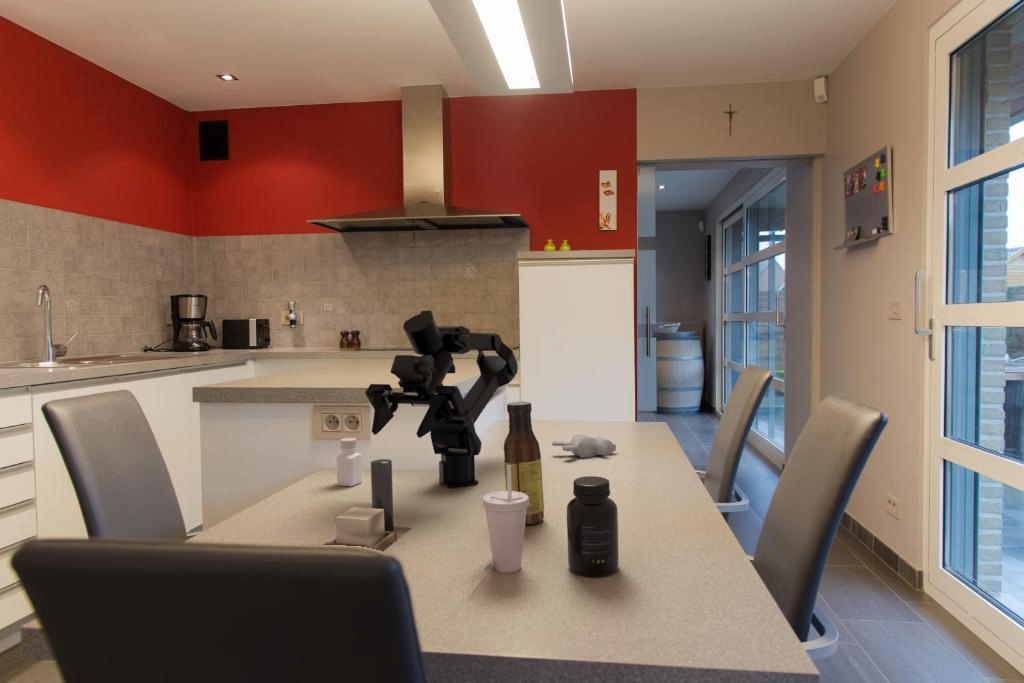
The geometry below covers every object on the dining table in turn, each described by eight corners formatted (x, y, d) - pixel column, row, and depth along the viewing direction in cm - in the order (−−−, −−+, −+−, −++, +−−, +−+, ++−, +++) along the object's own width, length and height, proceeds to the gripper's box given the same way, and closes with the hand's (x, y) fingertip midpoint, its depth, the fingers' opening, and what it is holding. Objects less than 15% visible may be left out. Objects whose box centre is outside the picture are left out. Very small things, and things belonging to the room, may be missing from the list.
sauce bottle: (548, 516, 105) (546, 400, 105) (538, 528, 100) (535, 405, 99) (512, 513, 108) (509, 399, 107) (500, 524, 102) (497, 404, 101)
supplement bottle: (563, 559, 86) (562, 474, 86) (611, 556, 87) (610, 472, 87) (572, 580, 80) (571, 488, 79) (624, 577, 80) (623, 485, 80)
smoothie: (526, 578, 81) (523, 472, 80) (478, 575, 82) (476, 470, 81) (534, 559, 87) (532, 460, 86) (490, 556, 88) (487, 459, 88)
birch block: (354, 539, 93) (353, 507, 93) (384, 542, 92) (383, 509, 91) (336, 552, 88) (335, 517, 88) (368, 555, 87) (367, 519, 87)
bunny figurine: (622, 440, 149) (567, 438, 143) (621, 461, 149) (565, 460, 143) (602, 433, 158) (549, 432, 152) (600, 453, 158) (548, 453, 152)
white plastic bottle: (336, 486, 128) (334, 440, 128) (348, 481, 132) (346, 436, 131) (352, 487, 127) (350, 441, 126) (363, 482, 130) (362, 437, 130)
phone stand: (369, 530, 100) (367, 457, 99) (412, 533, 98) (410, 458, 97) (324, 561, 87) (321, 477, 87) (372, 566, 85) (370, 480, 85)
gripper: (373, 341, 117) (332, 400, 106) (460, 340, 110) (425, 404, 99) (395, 383, 124) (358, 443, 113) (478, 385, 116) (448, 449, 105)
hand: (395, 434), depth 107 cm, fingers open, 9 cm apart
